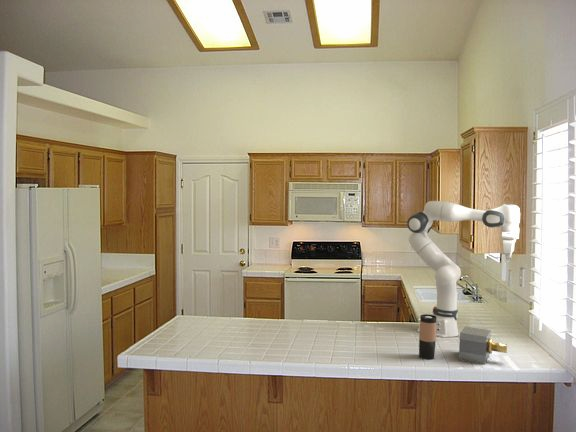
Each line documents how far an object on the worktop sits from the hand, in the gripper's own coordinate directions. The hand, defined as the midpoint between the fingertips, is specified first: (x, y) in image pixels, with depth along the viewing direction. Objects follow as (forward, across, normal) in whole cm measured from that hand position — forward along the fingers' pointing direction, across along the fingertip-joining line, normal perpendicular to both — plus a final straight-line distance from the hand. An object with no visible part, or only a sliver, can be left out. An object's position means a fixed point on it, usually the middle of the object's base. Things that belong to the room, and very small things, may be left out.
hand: (508, 261), depth 277 cm
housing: (+44, +32, -10) cm, 55 cm away
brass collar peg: (+41, +32, -4) cm, 52 cm away
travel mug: (+44, +43, -30) cm, 69 cm away
